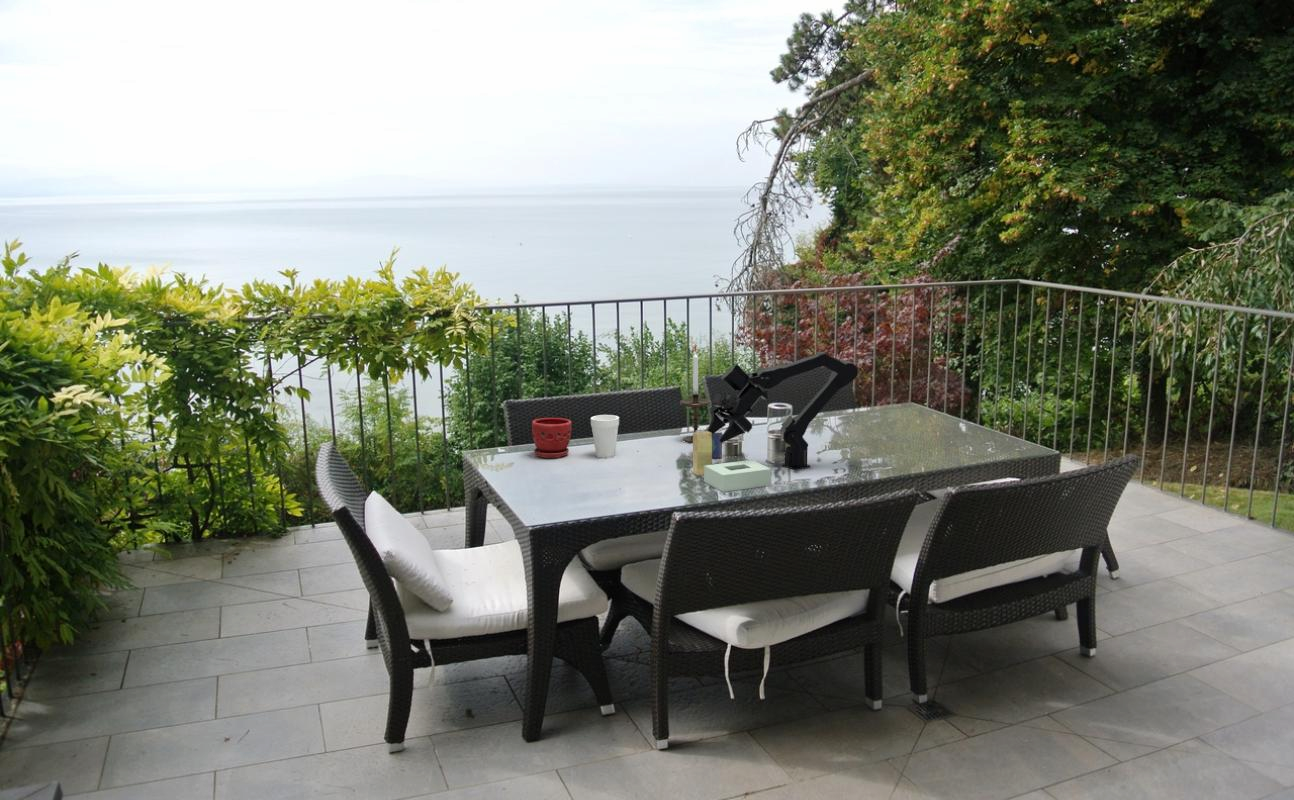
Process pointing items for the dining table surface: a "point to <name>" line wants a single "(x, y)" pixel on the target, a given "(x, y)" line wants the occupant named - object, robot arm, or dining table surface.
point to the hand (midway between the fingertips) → (713, 438)
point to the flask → (715, 444)
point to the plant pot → (551, 437)
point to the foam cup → (605, 434)
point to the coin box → (737, 475)
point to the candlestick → (695, 398)
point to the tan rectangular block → (701, 451)
